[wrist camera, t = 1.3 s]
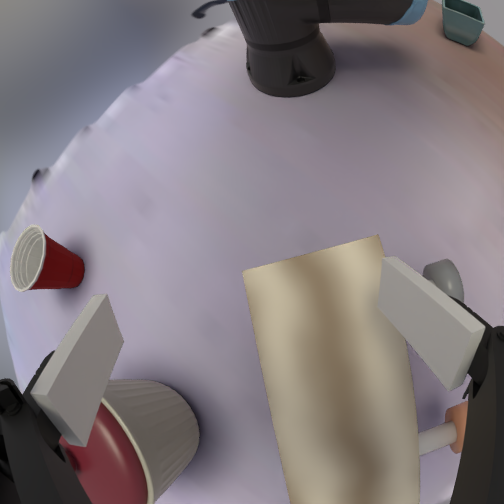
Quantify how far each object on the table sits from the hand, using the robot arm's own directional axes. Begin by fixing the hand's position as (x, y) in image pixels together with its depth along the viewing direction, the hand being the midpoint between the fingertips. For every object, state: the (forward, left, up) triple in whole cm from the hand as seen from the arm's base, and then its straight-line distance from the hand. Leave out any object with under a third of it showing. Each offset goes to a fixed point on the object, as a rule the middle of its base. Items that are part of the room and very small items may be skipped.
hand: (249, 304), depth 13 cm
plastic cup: (+16, -36, -22) cm, 46 cm away
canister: (+24, -7, -22) cm, 34 cm away
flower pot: (-64, +4, -22) cm, 68 cm away
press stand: (+4, +8, -22) cm, 24 cm away
